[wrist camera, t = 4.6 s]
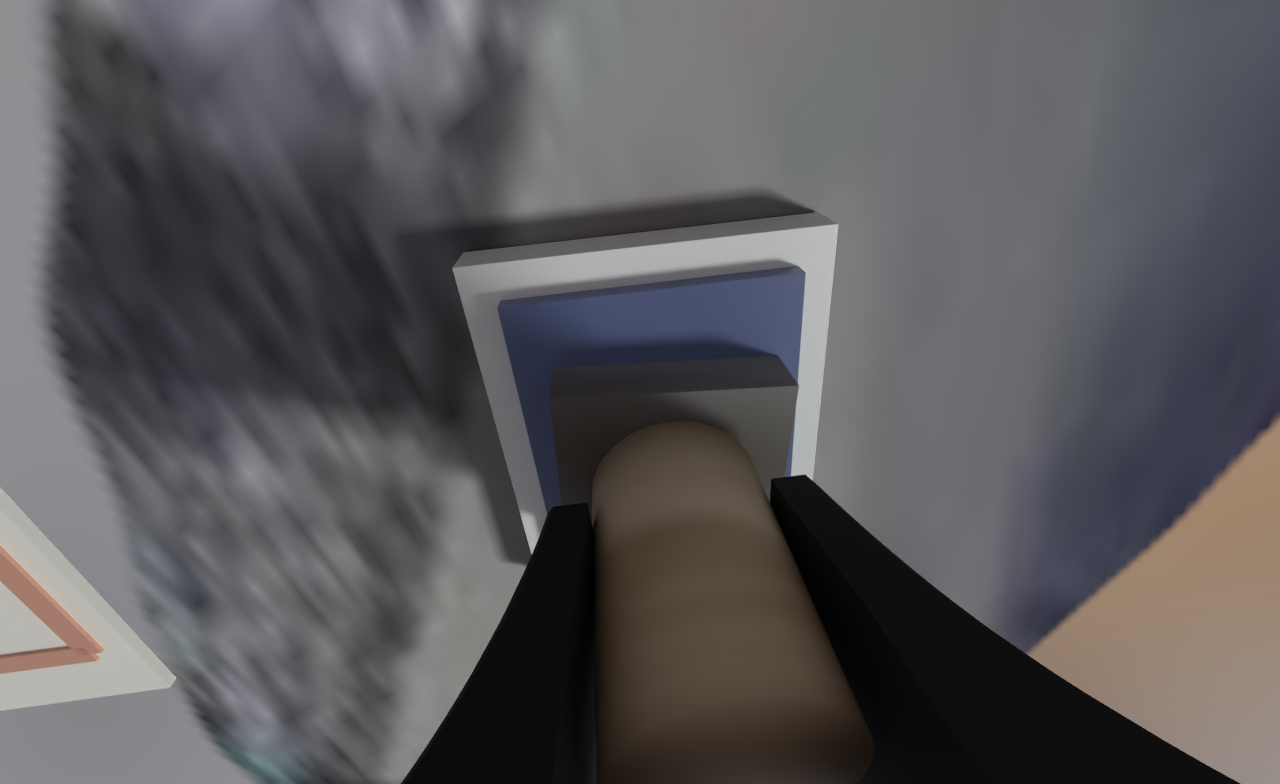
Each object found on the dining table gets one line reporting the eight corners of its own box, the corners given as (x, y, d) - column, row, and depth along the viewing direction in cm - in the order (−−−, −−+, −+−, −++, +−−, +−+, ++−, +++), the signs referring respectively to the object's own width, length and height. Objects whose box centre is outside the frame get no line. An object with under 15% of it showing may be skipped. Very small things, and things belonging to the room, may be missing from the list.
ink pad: (791, 537, 15) (809, 577, 14) (546, 569, 15) (543, 612, 14) (817, 212, 10) (848, 229, 9) (463, 252, 10) (447, 275, 9)
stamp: (756, 520, 13) (880, 839, 7) (571, 534, 12) (560, 876, 7) (778, 355, 10) (977, 641, 5) (553, 367, 10) (517, 683, 5)
